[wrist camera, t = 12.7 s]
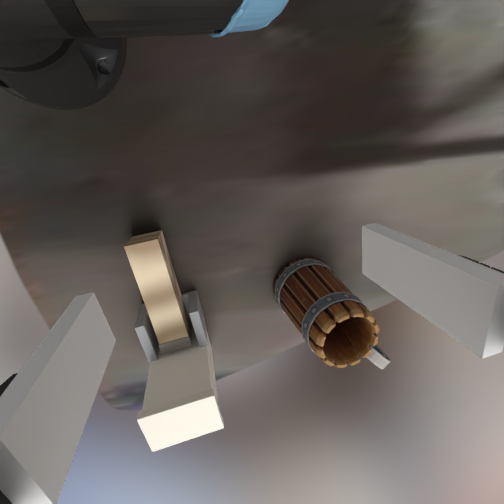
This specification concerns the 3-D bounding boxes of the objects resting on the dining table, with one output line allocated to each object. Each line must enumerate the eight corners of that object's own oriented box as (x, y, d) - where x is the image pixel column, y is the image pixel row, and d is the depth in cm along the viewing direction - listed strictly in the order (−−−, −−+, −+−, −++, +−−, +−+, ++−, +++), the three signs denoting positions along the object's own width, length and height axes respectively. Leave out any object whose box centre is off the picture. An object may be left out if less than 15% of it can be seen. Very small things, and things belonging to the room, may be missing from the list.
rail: (131, 236, 37) (122, 247, 32) (162, 229, 38) (158, 239, 33) (164, 332, 43) (161, 354, 38) (191, 325, 43) (191, 345, 38)
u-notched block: (140, 304, 41) (118, 382, 27) (197, 289, 42) (202, 357, 29) (162, 360, 45) (152, 451, 32) (213, 345, 47) (224, 427, 33)
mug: (259, 292, 45) (291, 355, 31) (301, 243, 44) (353, 287, 30) (320, 332, 51) (369, 400, 37) (358, 290, 50) (424, 345, 36)
